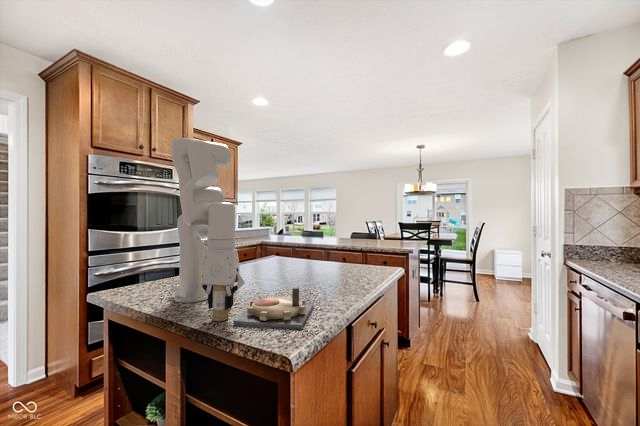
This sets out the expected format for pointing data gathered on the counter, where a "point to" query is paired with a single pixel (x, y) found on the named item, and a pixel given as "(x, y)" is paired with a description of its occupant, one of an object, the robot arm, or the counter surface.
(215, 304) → the sprinkles bottle
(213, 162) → the robot arm
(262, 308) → the sprocket dial
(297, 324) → the dial base
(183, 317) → the counter surface
